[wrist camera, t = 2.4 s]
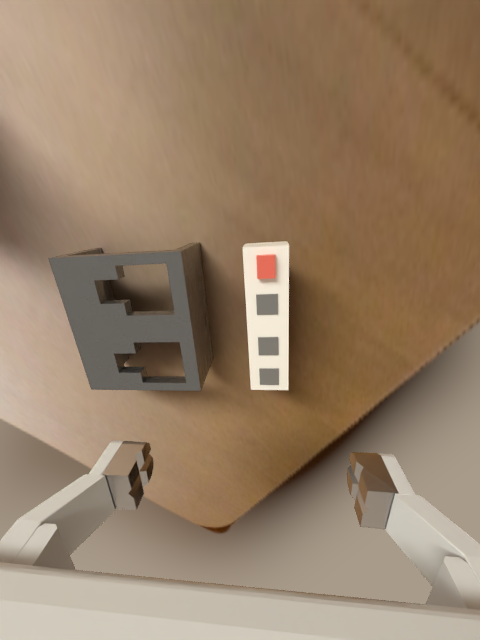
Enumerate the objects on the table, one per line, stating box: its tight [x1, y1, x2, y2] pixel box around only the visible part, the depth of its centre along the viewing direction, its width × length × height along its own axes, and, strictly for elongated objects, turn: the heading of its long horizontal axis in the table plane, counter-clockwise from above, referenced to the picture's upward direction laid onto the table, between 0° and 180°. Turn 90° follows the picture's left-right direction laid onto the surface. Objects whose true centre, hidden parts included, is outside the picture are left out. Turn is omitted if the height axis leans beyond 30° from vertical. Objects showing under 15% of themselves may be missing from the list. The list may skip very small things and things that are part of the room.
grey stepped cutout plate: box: [48, 243, 213, 391], centre depth 31 cm, size 13×15×7 cm
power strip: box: [243, 241, 289, 390], centre depth 29 cm, size 4×15×7 cm, turn 3°
